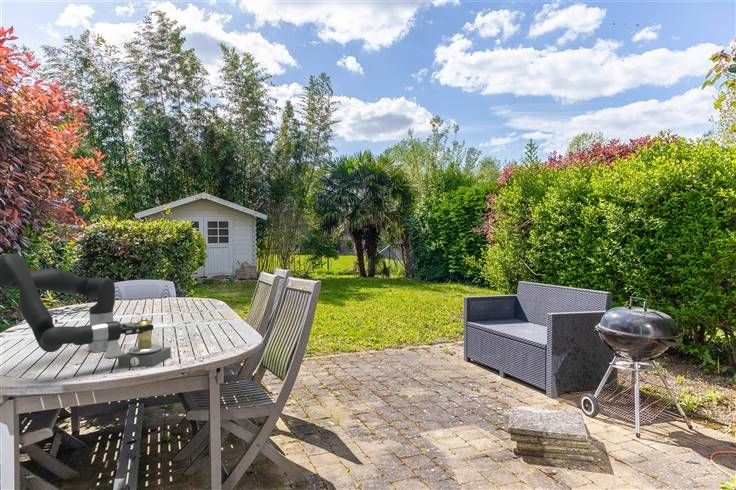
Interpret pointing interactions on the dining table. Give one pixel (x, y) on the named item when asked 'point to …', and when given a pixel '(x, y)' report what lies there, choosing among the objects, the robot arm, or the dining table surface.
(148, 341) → the brass weight
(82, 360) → the dining table surface
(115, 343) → the flask
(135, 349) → the scale pan
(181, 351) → the dining table surface
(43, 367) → the dining table surface
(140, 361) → the base
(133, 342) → the dining table surface
